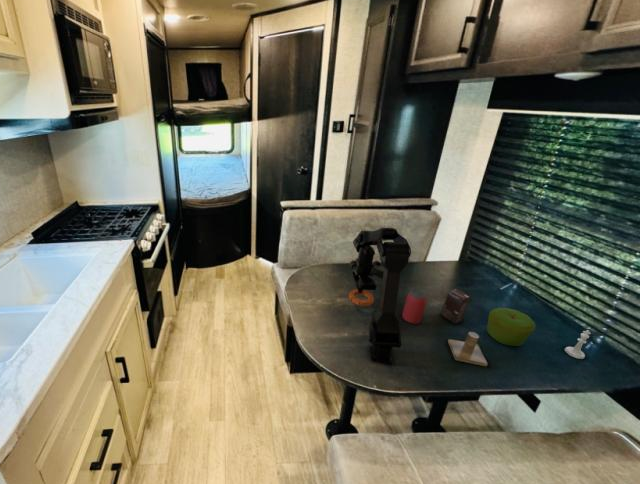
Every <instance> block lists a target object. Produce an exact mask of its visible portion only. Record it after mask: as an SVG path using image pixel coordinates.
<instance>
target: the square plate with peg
mask: <svg viewBox="0 0 640 484" xmlns="http://www.w3.org/2000/svg"><path fill="white" fill-rule="evenodd" d="M479 339H480V335H479V334H478V333H477V332H475V331H468V333H467V335H466V338H465V340H464V341H462V340H456V339H451V338H449V339H448V340H447V342H448V345H449V348H450V350H451V353H452V356H453V358H454V361H458V362H464V363H467V364H473V365H476V366H477V365H478V366H483V367H487V366H488V362H487V360H486V358H485V356H484V354H483V352H482V350H481V348H480V345H479V344H478V341H479Z"/></svg>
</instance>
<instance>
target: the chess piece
mask: <svg viewBox="0 0 640 484" xmlns="http://www.w3.org/2000/svg"><path fill="white" fill-rule="evenodd" d="M591 334H592V333H591V332H590V330H588V329H586V330H582V332H581V333H580V338H579V337H578V338H577V339H576V340H577V341H578V342H577V343H576V344H575V345H574V346H566V347H565V348H564V351H565V353H566V354H568V355H569V356H570V357H573V358H575V359H577V360H579V359H580V360H583V359H585V357H586V354H585V353H584V351H582V347H583V345H584V344H587V340H588V339H590V335H591Z"/></svg>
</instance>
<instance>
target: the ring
mask: <svg viewBox="0 0 640 484" xmlns="http://www.w3.org/2000/svg"><path fill="white" fill-rule="evenodd" d="M359 295H361V296H364V297H366V298H367V300H366V299H365V300H364V299H359V298H357V297H356V296H359ZM348 298H349V300H350V302H351V303H353V304H356V305H357V306H359V307H361V306H362V307H369V306H371V305H373V304H374V302H375V297H374V296H373V294H372V293H371V292H369V291H368V290H363V291H362V293H358V289H357V288H355V289H352V290H351V291H349V294H348Z"/></svg>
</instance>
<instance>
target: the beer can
mask: <svg viewBox="0 0 640 484" xmlns="http://www.w3.org/2000/svg"><path fill="white" fill-rule="evenodd" d="M427 300H428V299H427V294H426V293H425V292H424V291H422V290H418V289H411V290H410V291H409V292H408V294H407V296H406V299H405V303H404V307H403V311H402V314H401V316H402V319H403V320H404V321H406V322H408V323H410V324H419V323H421V321H422V318H423V315H424V312H425V308H426V305H427Z"/></svg>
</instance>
